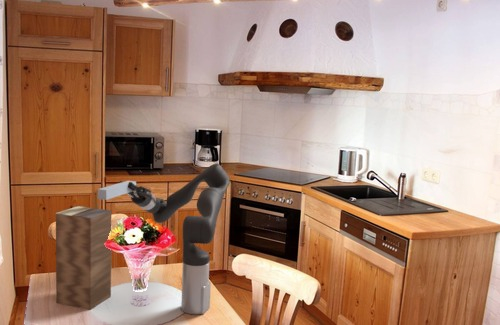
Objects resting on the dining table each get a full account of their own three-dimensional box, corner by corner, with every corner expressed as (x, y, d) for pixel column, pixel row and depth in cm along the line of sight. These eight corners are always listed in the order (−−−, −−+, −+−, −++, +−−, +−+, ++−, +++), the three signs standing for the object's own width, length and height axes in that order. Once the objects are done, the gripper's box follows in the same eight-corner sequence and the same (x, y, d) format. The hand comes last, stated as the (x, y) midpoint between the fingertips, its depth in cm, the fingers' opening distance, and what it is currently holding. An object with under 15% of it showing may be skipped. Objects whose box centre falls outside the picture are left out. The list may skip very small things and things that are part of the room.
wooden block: (110, 296, 176) (111, 210, 172) (90, 309, 165) (90, 217, 160) (78, 290, 180) (78, 206, 176) (56, 302, 169) (55, 213, 164)
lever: (135, 190, 190) (136, 181, 189) (106, 199, 171) (106, 190, 170) (128, 189, 191) (128, 180, 190) (97, 198, 172) (97, 189, 171)
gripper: (156, 209, 196) (138, 194, 181) (126, 205, 200) (105, 191, 185) (161, 191, 199) (143, 176, 184) (131, 188, 203) (111, 173, 188)
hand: (124, 183), depth 185 cm, fingers closed on lever, 3 cm apart
